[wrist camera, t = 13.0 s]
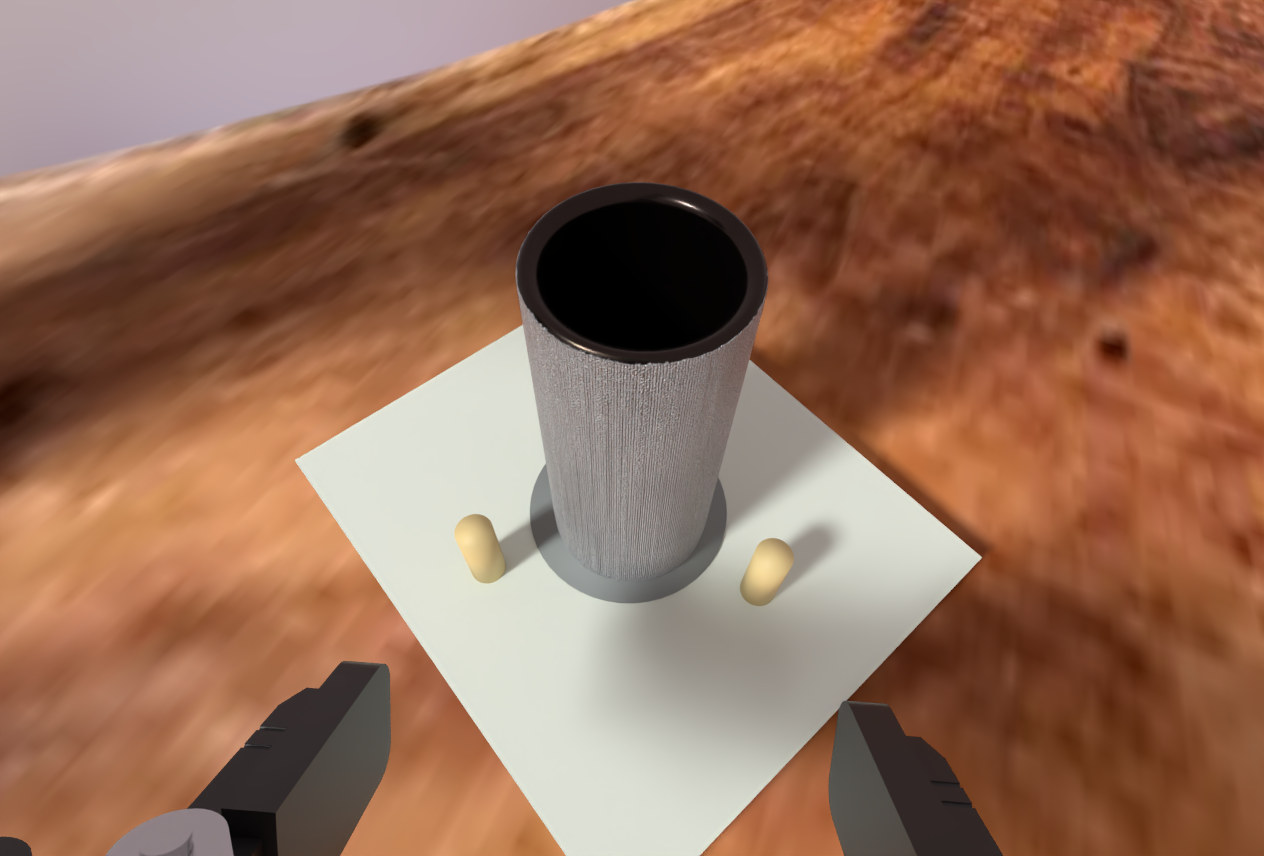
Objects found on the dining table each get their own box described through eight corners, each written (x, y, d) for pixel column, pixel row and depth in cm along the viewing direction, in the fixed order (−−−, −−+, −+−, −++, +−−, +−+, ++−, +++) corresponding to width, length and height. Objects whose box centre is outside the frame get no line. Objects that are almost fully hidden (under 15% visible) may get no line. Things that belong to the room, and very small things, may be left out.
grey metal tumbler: (684, 603, 20) (740, 392, 11) (532, 558, 20) (472, 323, 11) (720, 469, 22) (790, 206, 13) (583, 432, 23) (565, 159, 14)
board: (312, 482, 23) (260, 416, 20) (631, 286, 28) (633, 207, 25) (621, 931, 17) (623, 947, 13) (960, 575, 22) (1024, 521, 19)
